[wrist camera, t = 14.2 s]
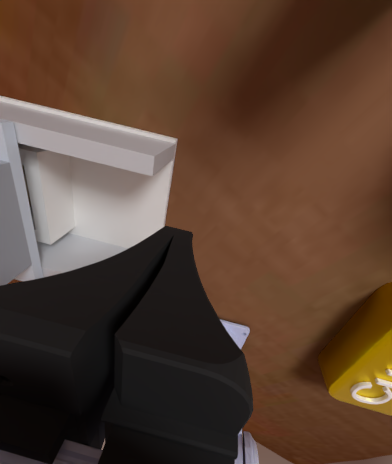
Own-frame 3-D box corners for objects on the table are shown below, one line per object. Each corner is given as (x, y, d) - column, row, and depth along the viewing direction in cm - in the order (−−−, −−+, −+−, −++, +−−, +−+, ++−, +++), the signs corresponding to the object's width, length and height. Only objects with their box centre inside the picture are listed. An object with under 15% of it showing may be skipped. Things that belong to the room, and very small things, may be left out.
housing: (158, 264, 24) (138, 305, 19) (2, 223, 25) (-57, 253, 20) (177, 138, 18) (155, 150, 13) (-35, 87, 18) (-137, 79, 13)
